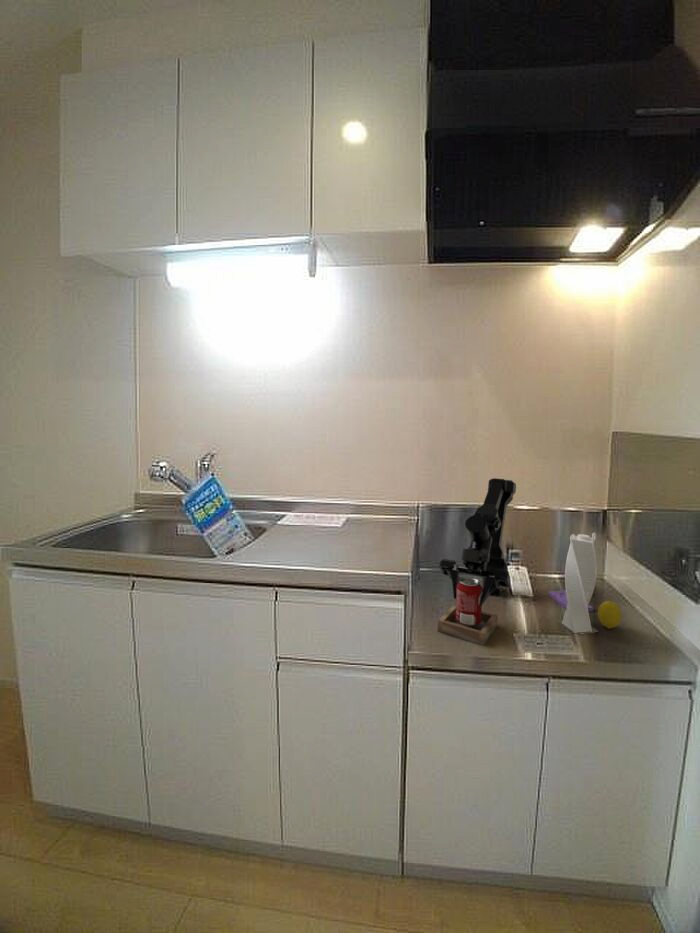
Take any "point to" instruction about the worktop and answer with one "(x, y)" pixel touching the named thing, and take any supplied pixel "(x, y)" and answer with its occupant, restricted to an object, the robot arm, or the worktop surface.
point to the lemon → (609, 614)
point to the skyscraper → (579, 583)
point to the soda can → (468, 602)
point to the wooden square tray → (472, 634)
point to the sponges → (562, 598)
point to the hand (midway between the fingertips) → (467, 601)
